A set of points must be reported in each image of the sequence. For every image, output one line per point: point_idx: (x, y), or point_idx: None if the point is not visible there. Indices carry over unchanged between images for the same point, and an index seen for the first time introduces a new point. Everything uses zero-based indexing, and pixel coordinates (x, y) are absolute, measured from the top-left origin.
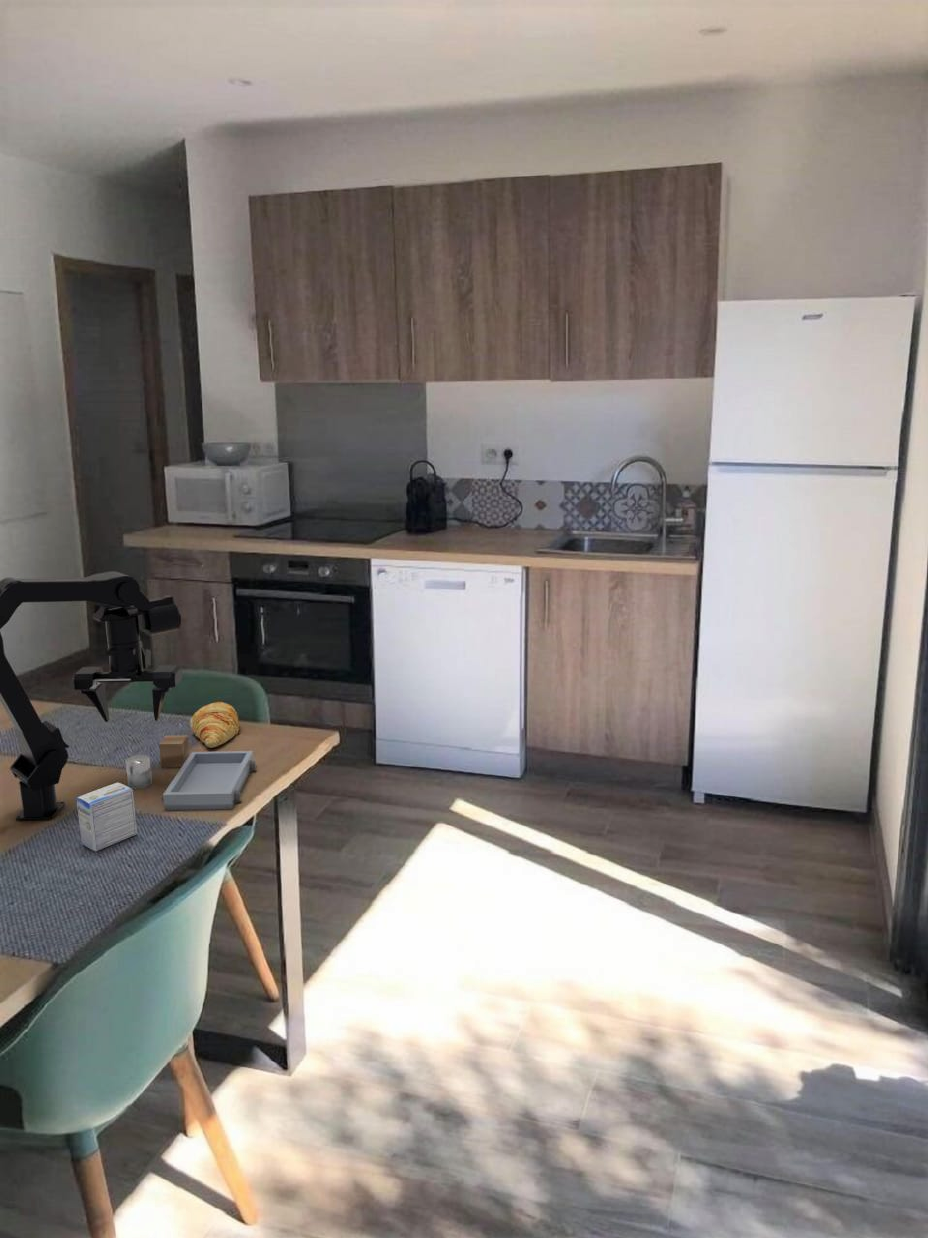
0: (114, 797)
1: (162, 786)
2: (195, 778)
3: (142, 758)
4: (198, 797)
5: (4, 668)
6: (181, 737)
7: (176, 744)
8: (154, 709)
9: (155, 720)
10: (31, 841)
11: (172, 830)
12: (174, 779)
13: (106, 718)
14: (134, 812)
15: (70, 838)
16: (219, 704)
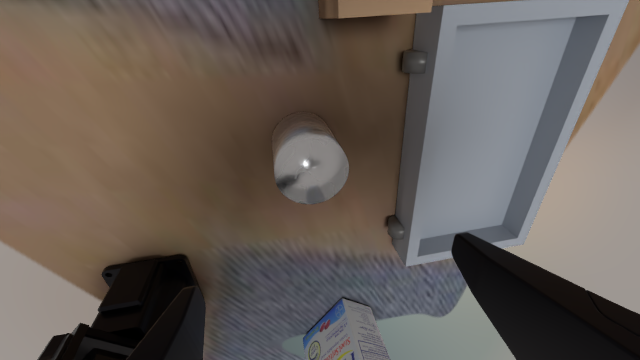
0: None
1: (361, 150)
2: (442, 133)
3: (325, 165)
4: None
5: None
6: None
7: (408, 13)
8: (506, 334)
9: (454, 256)
10: (220, 345)
11: (416, 288)
12: (417, 206)
13: (202, 332)
14: (383, 343)
15: (275, 329)
16: None
